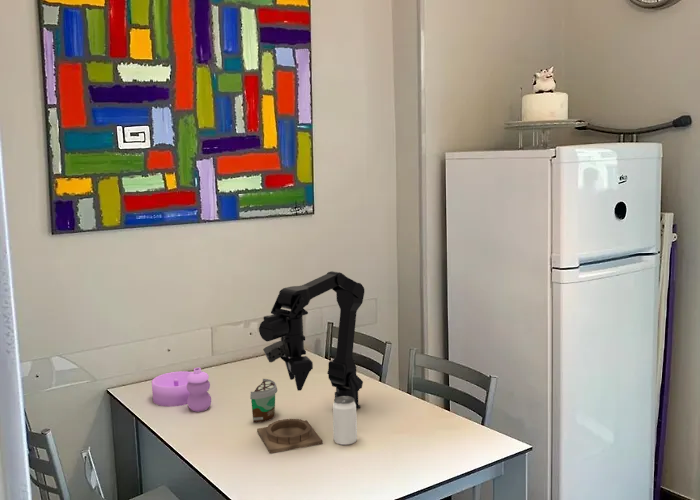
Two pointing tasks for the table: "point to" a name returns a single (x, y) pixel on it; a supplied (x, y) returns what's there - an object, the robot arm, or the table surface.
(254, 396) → the food container
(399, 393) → the table surface
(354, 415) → the can
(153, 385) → the container set
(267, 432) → the brown ring stand base
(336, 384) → the robot arm
